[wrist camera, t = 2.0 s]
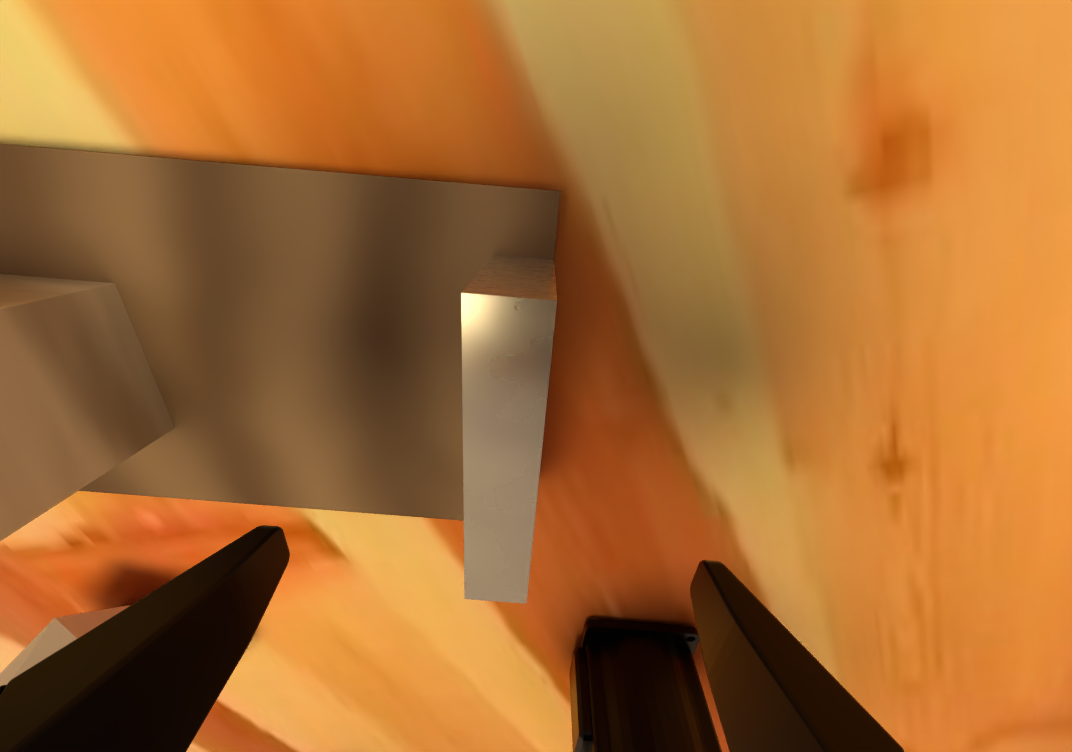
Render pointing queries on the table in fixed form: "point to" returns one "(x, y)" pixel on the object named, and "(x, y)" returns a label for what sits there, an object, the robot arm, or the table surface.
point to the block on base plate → (317, 333)
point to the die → (56, 639)
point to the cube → (68, 392)
